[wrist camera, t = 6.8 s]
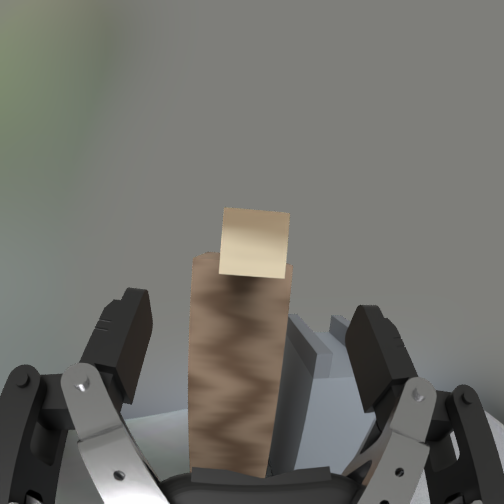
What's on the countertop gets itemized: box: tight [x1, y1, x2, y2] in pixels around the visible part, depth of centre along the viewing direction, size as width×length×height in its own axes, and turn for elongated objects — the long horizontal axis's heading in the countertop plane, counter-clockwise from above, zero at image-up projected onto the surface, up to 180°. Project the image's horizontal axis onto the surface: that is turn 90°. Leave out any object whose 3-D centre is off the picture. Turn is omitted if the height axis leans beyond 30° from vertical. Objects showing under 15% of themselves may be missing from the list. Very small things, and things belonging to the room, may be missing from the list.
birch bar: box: [219, 207, 290, 279], centre depth 25 cm, size 24×3×3 cm, turn 4°
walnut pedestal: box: [188, 252, 293, 478], centre depth 31 cm, size 8×15×32 cm, turn 4°
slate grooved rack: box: [269, 314, 376, 476], centre depth 32 cm, size 8×15×24 cm, turn 4°
